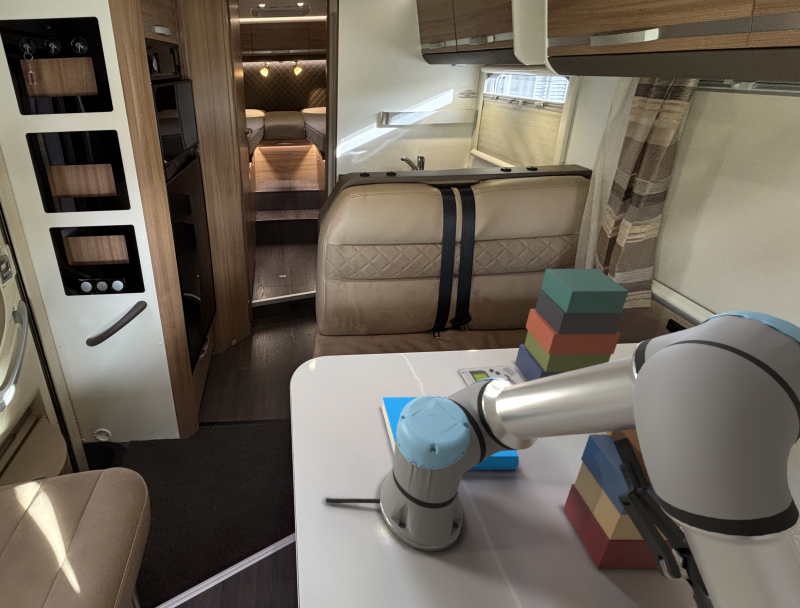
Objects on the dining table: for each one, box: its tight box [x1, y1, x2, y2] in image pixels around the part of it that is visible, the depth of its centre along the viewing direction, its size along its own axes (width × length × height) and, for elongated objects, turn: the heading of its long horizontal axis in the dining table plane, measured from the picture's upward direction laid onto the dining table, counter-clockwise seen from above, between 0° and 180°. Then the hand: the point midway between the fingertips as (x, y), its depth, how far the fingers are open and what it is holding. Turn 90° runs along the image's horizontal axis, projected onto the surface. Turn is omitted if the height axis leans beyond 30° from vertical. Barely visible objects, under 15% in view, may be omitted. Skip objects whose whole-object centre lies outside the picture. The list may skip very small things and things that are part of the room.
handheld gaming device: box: [459, 365, 525, 387], centre depth 113 cm, size 9×1×15 cm
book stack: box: [514, 268, 629, 381], centre depth 109 cm, size 11×17×30 cm, turn 90°
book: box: [381, 396, 520, 471], centre depth 96 cm, size 17×4×25 cm
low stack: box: [562, 434, 682, 569], centre depth 73 cm, size 11×10×20 cm
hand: (653, 440), depth 67 cm, fingers open, 9 cm apart
